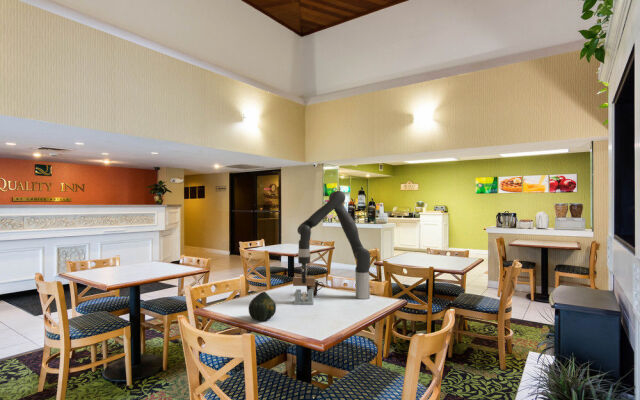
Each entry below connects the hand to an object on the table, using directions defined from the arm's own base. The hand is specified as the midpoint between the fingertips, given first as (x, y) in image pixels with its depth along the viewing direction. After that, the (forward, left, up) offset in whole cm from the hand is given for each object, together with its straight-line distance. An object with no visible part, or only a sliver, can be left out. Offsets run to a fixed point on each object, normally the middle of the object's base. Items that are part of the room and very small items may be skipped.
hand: (304, 282), depth 229 cm
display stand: (0, 0, -13) cm, 13 cm away
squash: (+20, +34, -13) cm, 42 cm away
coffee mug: (-5, -20, -13) cm, 24 cm away
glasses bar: (0, 0, -2) cm, 2 cm away
